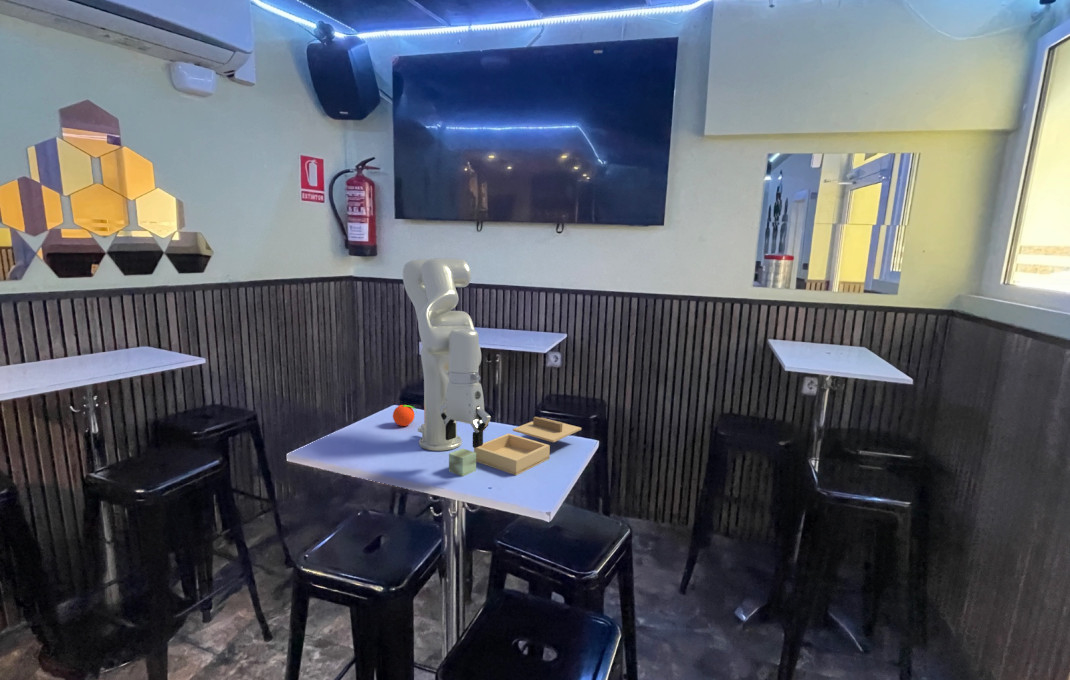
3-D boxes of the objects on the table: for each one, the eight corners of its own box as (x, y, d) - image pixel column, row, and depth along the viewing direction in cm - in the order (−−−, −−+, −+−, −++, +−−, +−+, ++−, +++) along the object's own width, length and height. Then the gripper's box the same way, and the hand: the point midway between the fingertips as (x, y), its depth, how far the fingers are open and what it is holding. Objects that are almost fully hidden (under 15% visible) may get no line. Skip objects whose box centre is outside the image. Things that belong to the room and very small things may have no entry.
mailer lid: (512, 430, 157) (512, 420, 156) (541, 419, 169) (542, 410, 168) (553, 442, 148) (554, 432, 148) (581, 429, 160) (581, 419, 160)
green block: (448, 471, 137) (449, 453, 136) (462, 466, 141) (462, 448, 140) (462, 476, 134) (462, 458, 133) (475, 470, 138) (476, 452, 137)
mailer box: (473, 460, 144) (474, 446, 144) (508, 446, 156) (508, 433, 156) (516, 475, 135) (516, 460, 135) (549, 458, 147) (549, 445, 147)
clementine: (419, 422, 175) (419, 402, 174) (415, 429, 168) (415, 408, 167) (396, 421, 175) (395, 401, 174) (390, 428, 168) (390, 407, 167)
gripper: (499, 379, 131) (498, 445, 133) (450, 371, 141) (450, 433, 143) (478, 384, 125) (478, 453, 127) (429, 375, 135) (430, 439, 137)
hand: (464, 442), depth 135 cm, fingers open, 9 cm apart
